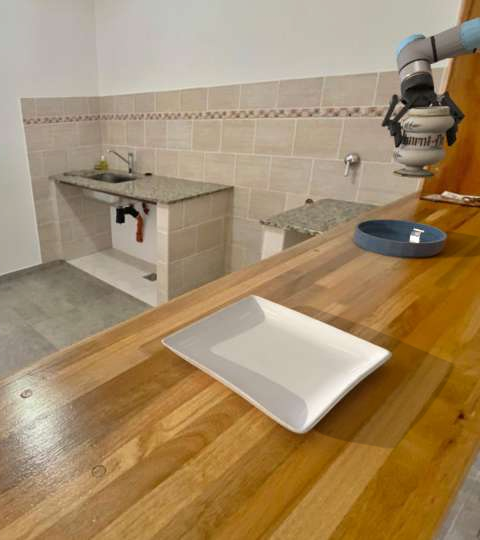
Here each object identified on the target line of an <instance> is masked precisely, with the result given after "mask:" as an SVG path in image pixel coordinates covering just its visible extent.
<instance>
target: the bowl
mask: <svg viewBox="0 0 480 540" xmlns="http://www.w3.org/2000/svg"><path fill="white" fill-rule="evenodd" d="M447 238H448V235H447V233H446V232H445V231H443V230H442V229H439V228H438V227H435V226H432V225H429V224H425V223H421V222H417V221H410V220H402V219H390V218H388V219H387V218H380V219H379V218H378V219H376V218H375V219H367V220H363V221H359V222H357V223H356V224H355V227H354V231H353V235H352V239H353V241H354V242H355V243H356V244H357V246H359V247H361V248H363V249H364V250H367V251H369V252H371V253H372V252H373V253H375V254H378V255H383V256H387V257H388V256H389V257H395V258H405V259H406V258H407V259H410V258H411V259H419V258H421V259H422V258H429V257H433V256H435V255H438V254H440V253H442V252H443V250H444V248H445V245H446V241H447Z"/></svg>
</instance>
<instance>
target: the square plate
mask: <svg viewBox="0 0 480 540" xmlns="http://www.w3.org/2000/svg"><path fill="white" fill-rule="evenodd" d="M161 343H162V344H163V345H164V346H165V347H167V348H168V349H169V350H170V351H172V352H173V353H174V354H176V355H177V356H178V357H180V358H181V359H183V360H185V361H186V362H187V363H189V364H191V365H192V366H194V367H195V368H197V369H199V370H201V371H202V372H204V373H205V374H207V375H208V376H210V377H211V378H213V379H215V380H216V381H217V382H219V383H220V384H223V386H225V387H226V388H229V389H230V390H231V391H232V392H234V393H236V394H237V395H238V396H240V397H241V398H243V399H244V400H245V401H247V402H248V403H249V404H251V405H253V406H254V407H255V408H257V410H259V411H260V412H261V413H263V414H265V415H266V416H267V417H269V418H270V419H271V420H273V421H275V422H276V423H277V424H279V425H281V426H282V427H284V428H285V429H287V430H289V431H291V432H293V433H295V434H299V435H305V434H307V433H308V432H310V430H312V429H313V428H314V427H315V426H316V425H317V424H319V423H320V421H321V420H322V419H323V418H324V417H326V415H327V414H328V413H329V412H330V411H331V410H332V409H333V408H334V407H335V406H336V405H337V404H338V403H339V402H340V401H341V400H342V399H343V398H344V397H345V396H346V395H348V394H349V392H350V391H352V390H353V389H354V388H355V387H356V386H357V385H358V384H360V383H361V382H362V381H363V380H365V379H366V378H367V377H368V376H370V375H371V374H372V373H374V372H375V371H376V370H377V369H379V368H380V367H382V366H383V365H384V364H385V363H386V362H387V361H389V360H390V359H391V357H393V353H392V352H391V350H388V349H386V348H384V347H382V346H379V345H376V344H375V343H372V342H370V341H367V340H366V339H363V338H360V337H358V336H356V335H354V334H351V333H349V332H346V331H344V330H342V329H339V328H338V327H335V326H333V325H331V324H328V323H326V322H324V321H321V320H319V319H317V318H314V317H312V316H309V315H306V314H305V313H302V312H299V311H298V310H295V309H292V308H290V307H287V306H284V305H283V304H279V303H276V302H274V301H273V300H272V301H271V300H269V299H267V298H264V297H261V296H259V295H257V294H256V295H255V294H250V295H248V296H245V297H244V298H242V299H240V300H238V301H236V302H234V303H231V304H229V305H228V306H225V307H223V308H222V309H220V310H217V311H215V312H213V313H211V314H209V315H207V316H205V317H203V318H201V319H199V320H198V321H197V320H196V321H195V322H193V323H191V324H189V325H188V326H185V327H184V328H181V329H180V330H178V331H176V332H174V333H171V334H170V335H168V336H166V337H164V338H163V339H161Z"/></svg>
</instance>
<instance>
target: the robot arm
mask: <svg viewBox="0 0 480 540" xmlns="http://www.w3.org/2000/svg"><path fill="white" fill-rule="evenodd" d="M478 53H480V17H476V18H472V19H470V20H466V21H464V22H461V23H460V24H457V25H455V26H452V27H450V28H448V29H446V30H444V31H441V32H439V33H435V34H434V35H431V36H427V37H426V35H424V34H423V33H418V34H412V35H409V36H407V37H405V38H404V39H402V40H401V41H400V42H399V44H398V46H397V48H396V67H397V72H398V80H399V88H400V96H399V95H398V94H396V93H395V94H393V95H392V97H391V99H390V100H389V103H388V104H389V107H388V109H387V111H386V114H385V115H384V118H383V120H382V123H381V125H380V126H381V127H382V128H385V127H387V128H386V129H387V130H388V131H389V135H390V137H393V140H394V148H395V149H397V148H398V147H399V146H400V144H401V143H402V142H403V140H402V135H403V131H402V129H401V124H400V122H401V121H400V120H402V119H403V118H404V116H405V115H407V113H408V112H409V111H410V110H411V109H412V108H419V107H439V106H443V107H450V110H449V115H450V116H451V117H453V119H454V125H453V126H452V127H451V128H449V129H447V131H446V133H445V139H446V145H447V147H452V146H453V145H454V144H455V142H456V141H457V140H458V139H457V132H458V131H459V124H460V123H462V121H463V120H464V119H465V118H466V115H465V113H464V112H463V111H462V110H461V109H460V108H459V106H458V105H457V104H456V103H455V101H454V100H453V99H452V98H451V96H450V92H449V91H444V92H443V93H439V94H438V93H436V91H435V83H434V78H433V71H432V65H433V64H437V63H438V62H442V61H444V60H447V59H454V58H458V57H462V56H469V55H473V54H478ZM400 103H401V104H402V105H403V107H402V108H401V110H399V111H398V113H397V114H396V115H395V116H394V118H392V119H391V117H392V115H393V113H394V110H395V108H396V107H397V105H399V104H400Z"/></svg>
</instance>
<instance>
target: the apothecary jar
mask: <svg viewBox="0 0 480 540" xmlns="http://www.w3.org/2000/svg"><path fill="white" fill-rule="evenodd" d="M449 110H450V107H443V106H439V107H431V106H430V107H419V108H412V109H411V110H410V109H409V113H408V114H407V116H405V117H403V118H402V119H401V121H399V122H400V124H401V130H402V140H403V142H402V143H401V144H400V146H399V147H398V148H395V149H394V150H393V152H392V159H393V160H394V161H395V162H397V163H399V164H400V165H404V166H405V167H403V168H399V169H396V170H393V171H392V175H393V176H396V177H401V178H409V179H430V178H431V179H432V178H434V177H435V173H434V172H432V171H430V170H428V169H425V167H428V166H432V165H436V164H438V163H440V162H441V161H443V160H444V159H445V158H446V156H447V152H446V150H445V149H444V147H443V145H444V141H445V138H446V131H447V129H449V128H451V127H452V126H453V125H454V119H453V117H451V116H450V115H449Z"/></svg>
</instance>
